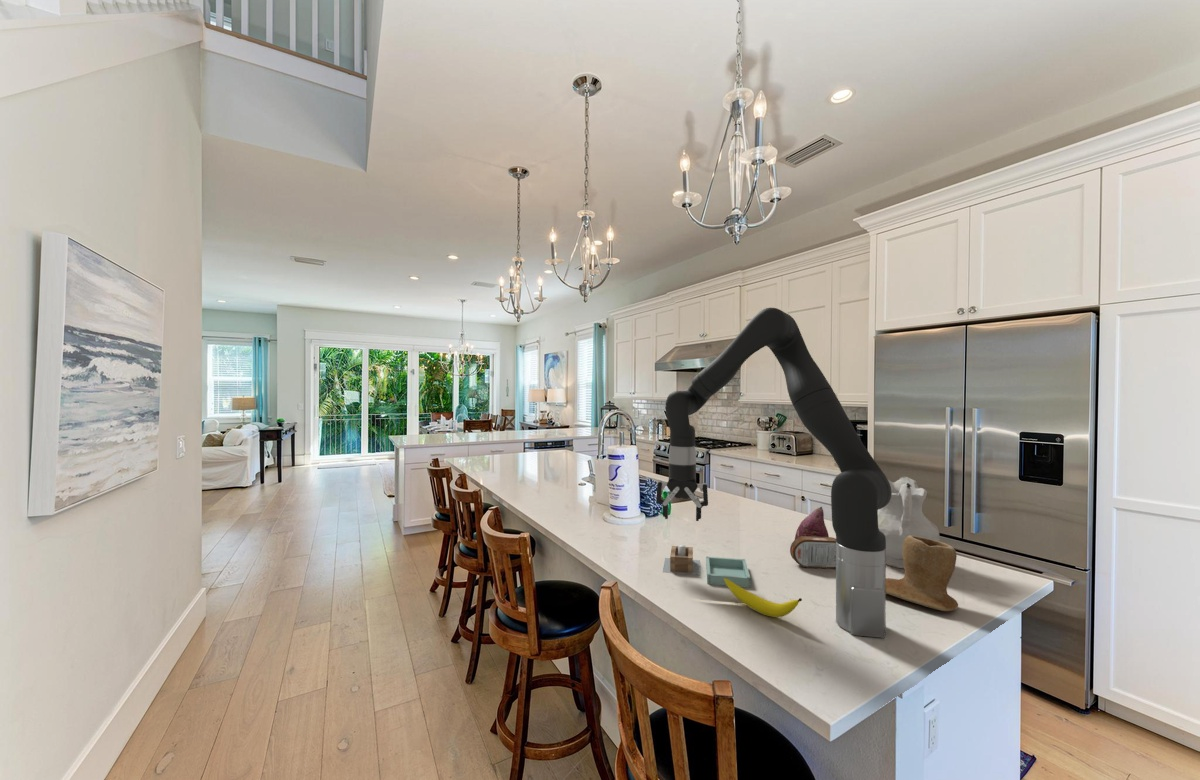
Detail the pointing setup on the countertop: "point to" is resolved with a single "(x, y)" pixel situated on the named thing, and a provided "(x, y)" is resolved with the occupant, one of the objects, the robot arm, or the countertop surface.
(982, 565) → the countertop surface
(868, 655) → the countertop surface
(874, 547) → the robot arm
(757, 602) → the banana
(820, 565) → the tin
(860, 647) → the countertop surface
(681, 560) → the stepped wooden block
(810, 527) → the vegetable
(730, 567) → the tray
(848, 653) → the countertop surface
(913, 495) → the ceramic pitcher
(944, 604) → the brown felt boot
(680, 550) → the grey plate with post
